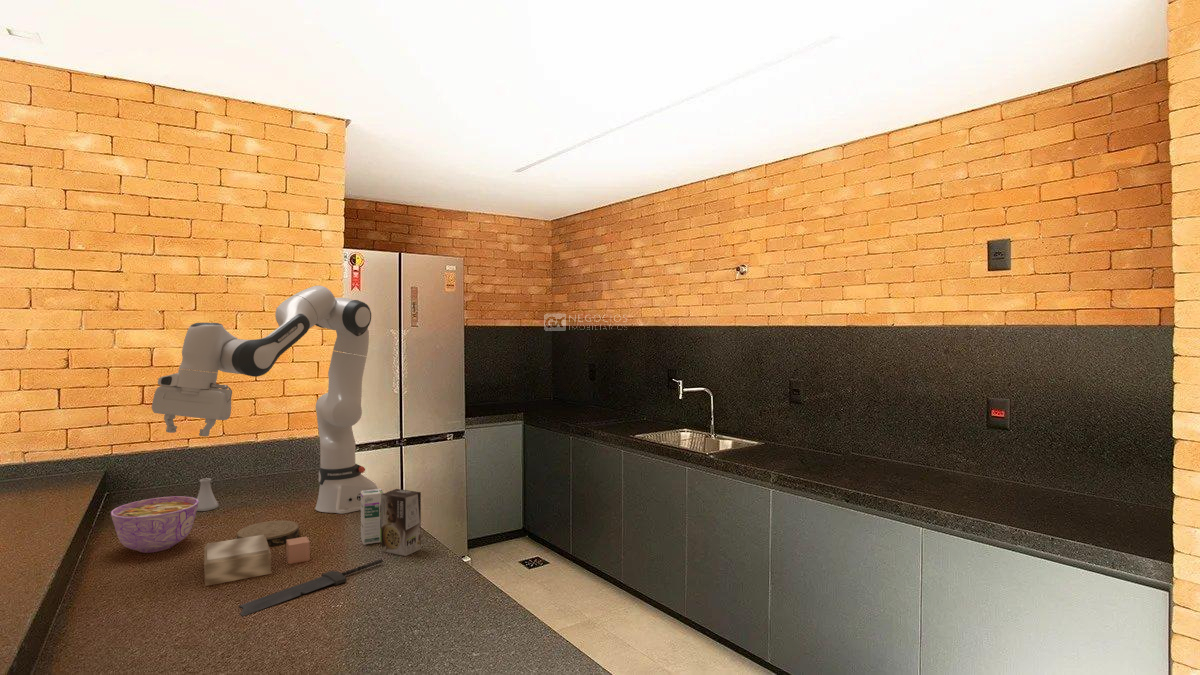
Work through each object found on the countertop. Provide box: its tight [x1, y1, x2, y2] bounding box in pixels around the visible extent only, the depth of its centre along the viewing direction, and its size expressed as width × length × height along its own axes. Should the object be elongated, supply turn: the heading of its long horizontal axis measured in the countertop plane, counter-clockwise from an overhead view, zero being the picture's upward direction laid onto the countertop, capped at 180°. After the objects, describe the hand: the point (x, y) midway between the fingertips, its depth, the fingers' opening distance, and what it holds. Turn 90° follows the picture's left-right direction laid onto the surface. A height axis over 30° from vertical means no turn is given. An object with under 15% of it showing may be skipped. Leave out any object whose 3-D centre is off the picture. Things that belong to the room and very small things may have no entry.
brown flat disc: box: [236, 519, 300, 548], centre depth 180 cm, size 16×16×3 cm
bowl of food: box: [110, 495, 199, 554], centre depth 172 cm, size 20×20×12 cm
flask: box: [196, 477, 220, 512], centre depth 208 cm, size 7×7×10 cm
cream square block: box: [203, 535, 272, 587], centre depth 157 cm, size 14×14×6 cm
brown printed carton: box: [381, 488, 422, 557], centre depth 172 cm, size 9×6×16 cm
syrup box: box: [360, 488, 384, 546], centre depth 179 cm, size 6×6×14 cm
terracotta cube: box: [285, 536, 311, 565], centre depth 165 cm, size 5×5×5 cm
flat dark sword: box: [238, 558, 384, 617], centre depth 148 cm, size 7×35×2 cm, turn 141°
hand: (187, 434), depth 162 cm, fingers open, 8 cm apart
